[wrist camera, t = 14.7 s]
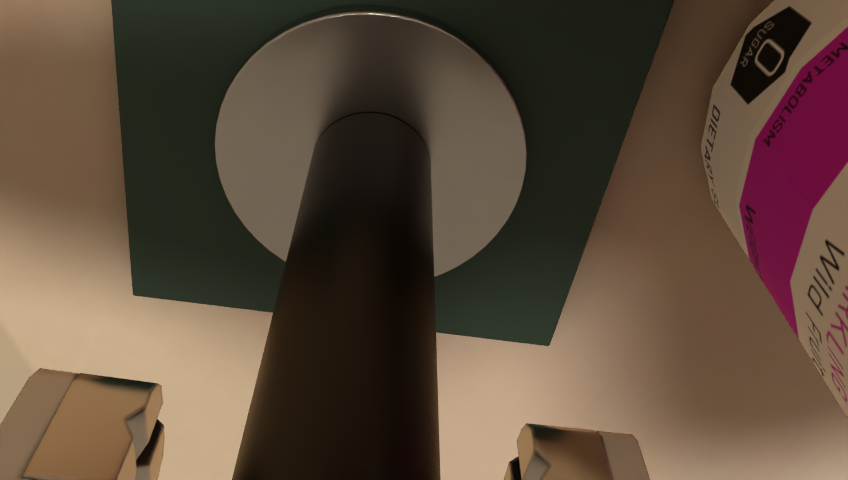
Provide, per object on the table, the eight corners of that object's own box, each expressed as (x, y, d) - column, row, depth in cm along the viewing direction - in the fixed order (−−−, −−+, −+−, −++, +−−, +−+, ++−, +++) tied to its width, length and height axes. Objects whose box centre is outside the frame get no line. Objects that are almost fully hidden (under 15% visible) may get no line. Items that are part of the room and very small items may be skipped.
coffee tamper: (560, 33, 15) (756, 451, 6) (487, 291, 19) (547, 771, 10) (220, -24, 14) (-84, 359, 6) (217, 256, 18) (34, 740, 9)
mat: (677, -37, 15) (685, -28, 14) (546, 332, 20) (549, 347, 20) (111, -138, 14) (100, -134, 13) (139, 281, 19) (132, 296, 19)
